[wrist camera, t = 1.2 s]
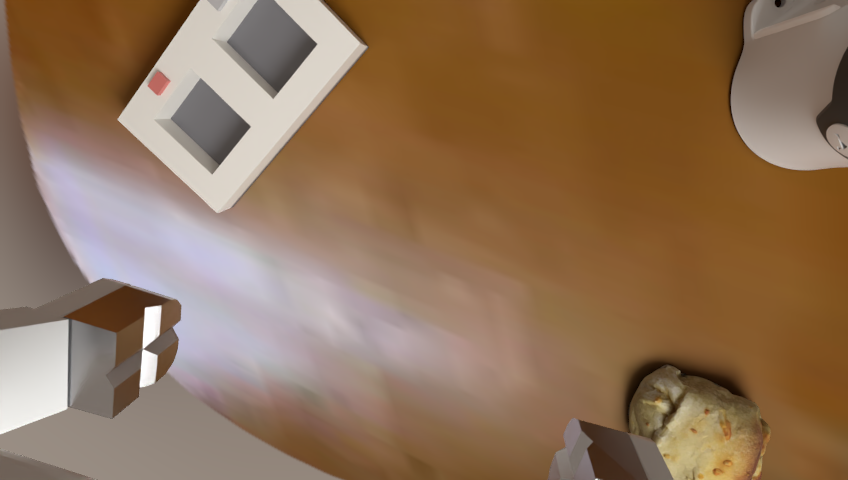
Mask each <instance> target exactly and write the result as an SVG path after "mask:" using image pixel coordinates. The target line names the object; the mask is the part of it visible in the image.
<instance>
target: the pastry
mask: <svg viewBox="0 0 848 480" xmlns="http://www.w3.org/2000/svg"><path fill="white" fill-rule="evenodd" d="M680 372H681V371H680V370H678V369H677V368H676V367H673V366H671V365H664V366H662V367H660V368H659V369H657V370H656V371H654V372H653V373H651V374H649V375H647V376H646V377H645V378H644V379H643V380H642V381H641V383H640V385H639V387H638V389H637V391H636V392H635V394H634V396H633V398H632V401H631V402H630V405H629V406H628V407H630V408H629V409H628V412H629V414H628V415H629V429H630V432H631V434H634V435H638V436H642V437H646V438H650V439H651V440H652V441H654V442H655V443H656V445H657V447H658V449H659V451H660V453H661V455H662V457H663V459H664V461H665V463H666V465H667V467H668V469H669V471H670V473H671V475H672V477H673V479H674V480H760V479H761V475H762V472H761V467H762V457H763V454H764V453H765V447H766V444H767V443H768V441H769V440H770V427H769V426H768V424H767V423H766V422H765V421H764V420H763V419H761V416H760V410H759V407H758V406H757V405H756V404H755V402H753V401H751V400H749V399H746V398H743V397H740V396H737V395H733V394H731V393H730V392H729V391H728V390H727V389H725V388H723V387H721V386H719V385H717V384H716V383H714V382H711V381H709V380H707V379H704V378H701V377H697V376H689V375H685V374H686V373H685V374H681V373H680Z"/></svg>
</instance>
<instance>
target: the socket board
mask: <svg viewBox="0 0 848 480" xmlns="http://www.w3.org/2000/svg"><path fill="white" fill-rule="evenodd" d="M368 48H369V47H368V46H367V45H366V44H365V43H364V42H363V41H362V40H361V39H360V38H359V37H358V36H357V35H356V34H355V33H354V32H353V30H352V29H351V28H350V27H349V26H348V25H347V24H346V23H345V22H344V21H343V20H342V19H341V18H340V17H339V16H338V15H337V14H336V13H335V12H334V11H333V10H332V9H331V8H330V7H329V6H328V5H327V4H326V3H325V2H324V0H200V1H199V2H198V4H197V5H196V6H195V8H194V9H193V11H192V12H191V14H190V15H189V17H188V18H187V20H186V21H185V22H184V24H183V25H182V27H181V28H180V30H179V31H178V33H177V34H176V35H175V37H174V38H173V40H172V41H171V43H170V44H169V46H168V47H167V48H166V50H165V51H164V53H163V54H162V56H161V57H160V59H159V60H158V62H157V63H156V64H155V66H154V67H153V69H152V70H151V72H150V73H149V75H148V76H147V77H146V79H145V80H144V82H143V83H142V85H141V86H140V88H139V89H138V90H137V92H136V93H135V95H134V96H133V98H132V99H131V101H130V102H129V104H128V105H127V106H126V108H125V109H124V111H123V112H122V114H121V115H120V117H119V118H118V119H117V120H118V121H119V122H120V123H122V124H123V125H124V126H125V127H126V128H127V129H128V130H129V131H130V132H131V133H132V134H133V135H134V136H135V137H136V138H138V139H139V140H140V141H141V142H142V143H143V144H144V145H145V146H146V147H147V148H148V149H149V150H150V151H151V152H153V153H154V154H155V155H156V156H157V157H158V158H159V159H160V160H161V161H162V162H163V163H164V164H165V165H166V166H167V167H169V168H170V169H171V170H172V171H173V172H174V173H175V174H176V175H177V176H178V177H179V178H180V179H181V180H182V181H184V182H185V183H186V184H187V185H188V186H189V187H190V188H191V189H192V190H193V191H194V192H195V193H196V194H197V195H198V196H200V197H201V198H202V199H203V200H204V201H205V202H206V203H207V204H208V205H209V206H210V207H211V208H212V209H213V210H214V211H216V212H217V213H219V212H222V211H224V210H227V209H229V208H232V207H233V206H234V205H235V204H236V203H237V202H238V201H239V199H240V198H241V197H242V196H243V195H244V193H245V192H246V191H247V190H248V189H249V188H250V186H251V185H252V184H253V183H254V182H255V181H256V179H257V178H258V177H259V176H260V175H261V173H262V172H263V171H264V170H265V169H266V168H267V166H268V165H269V164H270V163H271V162H272V161H273V159H274V158H275V157H276V156H277V155H278V153H279V152H280V151H281V150H282V149H283V148H284V146H285V145H286V144H287V143H288V142H289V141H290V139H291V138H292V137H293V136H294V135H295V133H296V132H297V131H298V130H299V129H300V128H301V126H302V125H303V124H304V123H305V122H306V121H307V119H308V118H309V117H310V116H311V115H312V113H313V112H314V111H315V110H316V109H317V108H318V106H319V105H320V104H321V103H322V102H323V101H324V99H325V98H326V97H327V96H328V95H329V93H330V92H331V91H332V90H333V89H334V88H335V86H336V85H337V84H338V83H339V82H340V81H341V79H342V78H343V77H344V76H345V75H346V73H347V72H348V71H349V70H350V69H351V68H352V66H353V65H354V64H355V63H356V62H357V61H358V59H359V58H360V57H361V56H362V55H363V53H364V52H365V51H366V50H367V49H368Z"/></svg>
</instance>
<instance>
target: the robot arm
mask: <svg viewBox="0 0 848 480" xmlns="http://www.w3.org/2000/svg"><path fill="white" fill-rule="evenodd" d="M731 110H732V116H733V120H734V123H735V126H736V128H737V131H738V133H739V134H740V136H741V138H742V139H743V141H744V142H745V143H746V145H747V146H748V147H749V148H750V149H751V150H752V151H753V152H754V153H755V154H757V155H758V156H759V157H761V158H762V159H764V160H766V161H768V162H770V163H772V164H774V165H777V166H780V167H784V168H788V169H794V170H817V169H825V168H834V167H848V0H781V5H780V7H779V8H778V7H776V6H775V0H753V1H751V2H750V3H749V5H748V6H747V8H746V11H745V14H744V48H743V52H742V55H741V58H740V60H739V63H738V66H737V68H736V71H735V74H734V78H733V82H732V89H731ZM180 320H181V304H180V303H179V302H178V300H176V299H173V298H170V297H167V296H164V295H161V294H158V293H155V292H151V291H148V290H145V289H142V288H139V287H136V286H131V285H130V284H127V283H123V282H120V281H116V280H113V279H105V278H102V279H100V280H98V281H95V282H93V283H91V284H89V285H87V286H84V287H82V288H80V289H78V290H75V291H73V292H71V293H69V294H66V295H64V296H62V297H60V298H58V299H55V300H53V301H51V302H49V303H47V304H44V305H42V306H40V307H37V308H35V309H33V308H30V307H20V308H12V309H3V310H0V434H2V433H5V432H7V431H10V430H13V429H15V428H18V427H21V426H23V425H26V424H29V423H31V422H34V421H37V420H39V419H42V418H44V417H47V416H50V415H53V414H55V413H58V412H61V411H63V410H66V409H67V408H68V407H71V408H75V409H78V410H82V411H85V412H89V413H93V414H96V415H100V416H103V417H107V418H110V419H113V418H114V417H115V416H117V415H118V414H119V413H120V412H121V411H123V410H124V409H125V408H126V407H127V406H129V405H130V404H131V403H132V402H133V401H134V400H136V399H137V398H138V397H139V389H140V387H143V386H147V385H150V384H153V383H156V382H157V381H158V380H159V379H160V378H161V377H163V376H164V375H165V374H166V372H167V371H168V369H169V368H170V366H171V365H172V363H173V361H174V359H175V356H176V353H177V349H178V340H179V339H178V337H177V335H176V333H175V331H174V329H173V326H175V325H176V324H177V323H178V322H179V321H180ZM563 435H564V440H565V444H566V447H565V448H563V449H561V450H560V451H558V452H556V453H555V456H554V459H553V461H552V464H551V466H550V472H549V477H548V480H674V479H673V477H672V475H671V473H670V471H669V469H668V467H667V465H666V463H665V461H664V459H663V457H662V455H661V453H660V451H659V449H658V447H657V445H656V443H655V442H654V441H652V440H651V439H650V438H646V437H642V436H638V435H634V434H630V433H627V432H622V431H618V430H614V429H611V428H607V427H603V426H600V425H596V424H592V423H589V422H585V421H581V420H578V419H574V418H572V420H571V421H570V422H569V424H568V425H567V428H566V430H565V432H564V434H563ZM0 480H96V479H93V478H90V477H87V476H84V475H81V474H77V473H75V472H71V471H68V470H65V469H62V468H59V467H56V466H53V465H50V464H46V463H43V462H40V461H37V460H34V459H31V458H27V457H25V456H22V455H18V454H15V453H12V452H9V451H6V450H3V449H0Z"/></svg>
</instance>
